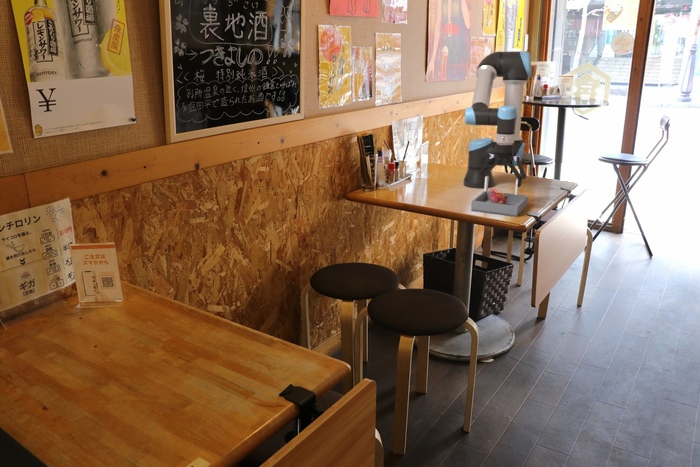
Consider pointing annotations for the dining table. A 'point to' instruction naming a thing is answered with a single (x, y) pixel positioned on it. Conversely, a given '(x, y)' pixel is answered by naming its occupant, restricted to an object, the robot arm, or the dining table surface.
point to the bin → (509, 209)
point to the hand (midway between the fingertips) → (500, 192)
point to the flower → (497, 196)
